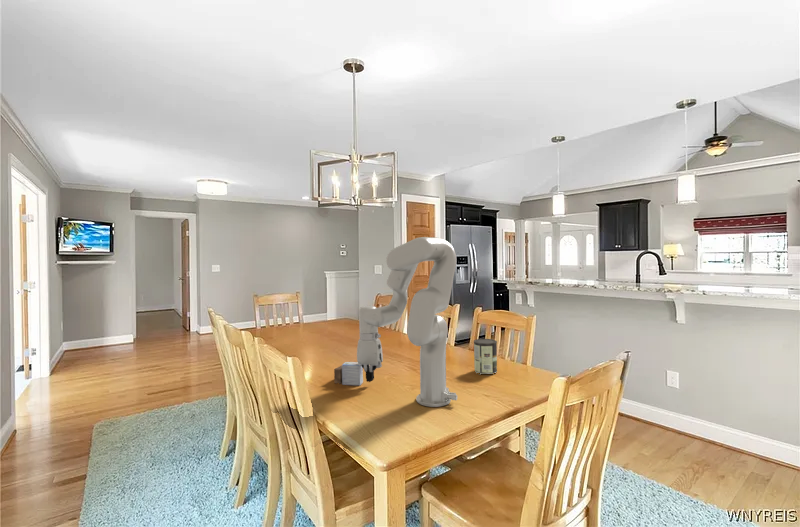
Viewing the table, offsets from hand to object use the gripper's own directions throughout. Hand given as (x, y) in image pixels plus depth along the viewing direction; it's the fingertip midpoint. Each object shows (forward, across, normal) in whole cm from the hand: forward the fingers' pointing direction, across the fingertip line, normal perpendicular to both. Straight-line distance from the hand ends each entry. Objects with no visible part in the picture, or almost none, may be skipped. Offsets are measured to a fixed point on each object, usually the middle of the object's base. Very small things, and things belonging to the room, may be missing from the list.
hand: (370, 380), depth 161 cm
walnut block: (+2, +15, -4) cm, 15 cm away
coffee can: (+3, -40, -37) cm, 54 cm away
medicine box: (+3, +8, 0) cm, 9 cm away
